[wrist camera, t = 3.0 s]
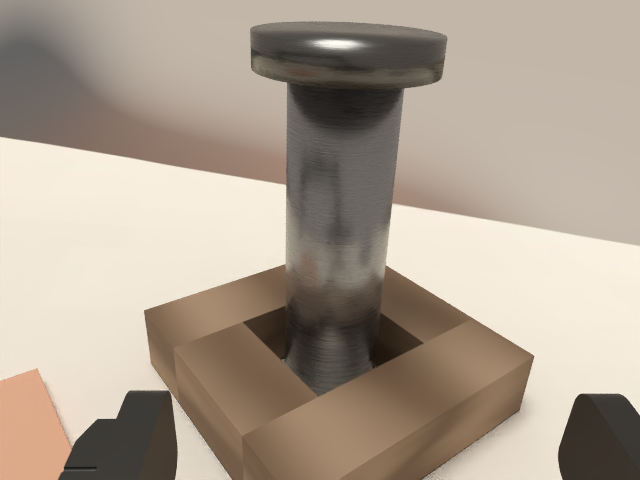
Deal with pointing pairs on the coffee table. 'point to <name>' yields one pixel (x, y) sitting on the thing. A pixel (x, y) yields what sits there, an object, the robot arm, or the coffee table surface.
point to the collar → (342, 402)
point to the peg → (340, 179)
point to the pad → (30, 431)
